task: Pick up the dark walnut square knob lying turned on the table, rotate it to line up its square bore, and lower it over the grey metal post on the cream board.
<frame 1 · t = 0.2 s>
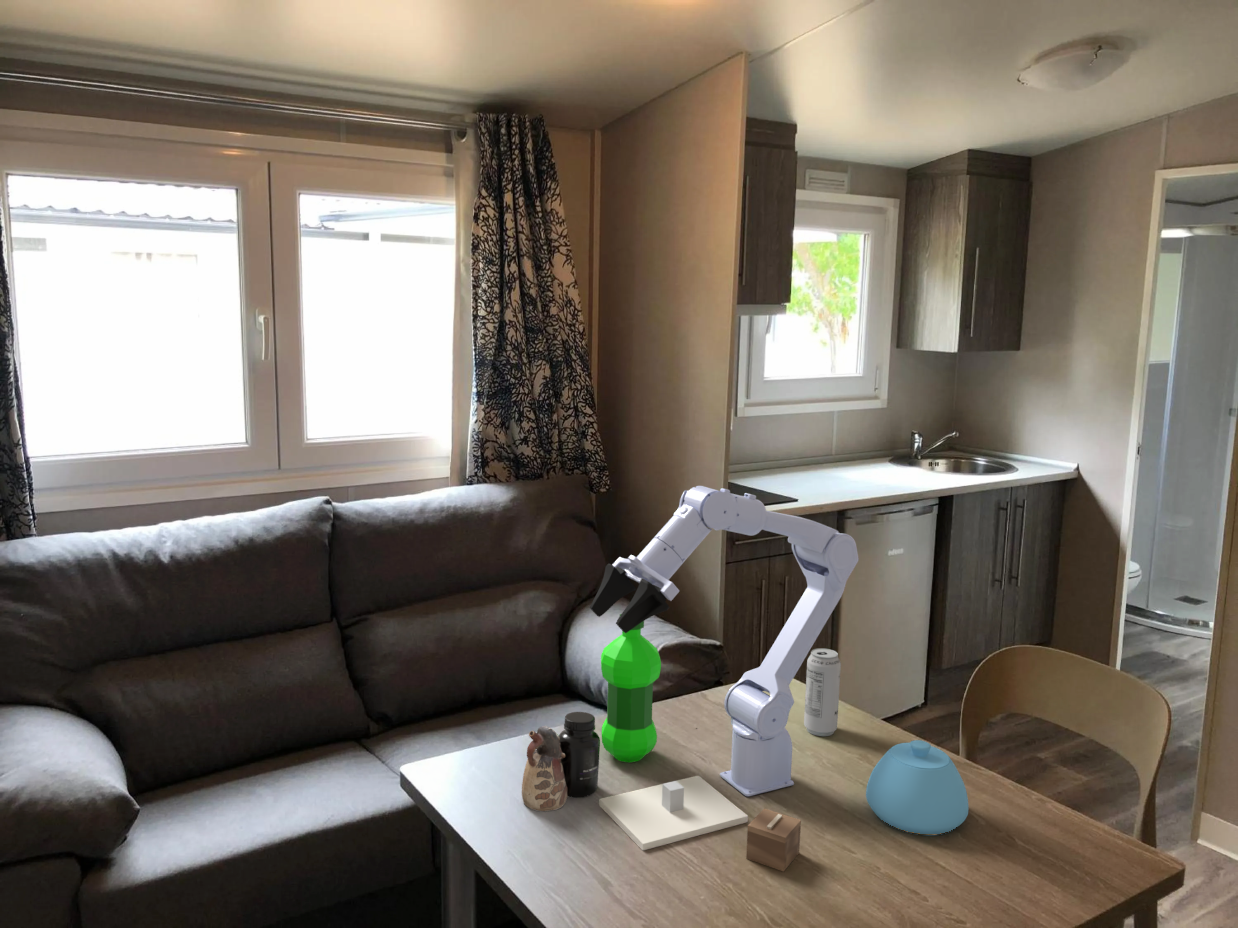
hand: (607, 620, 135), 31 cm above the table, tool tilted 45°, fingers open, 7 cm apart
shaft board: (672, 813, 143), on the table
supplement bottle: (576, 789, 149), on the table, touching figurine
plastic bottle: (628, 756, 162), on the table
figurine: (545, 800, 146), on the table, touching supplement bottle
sugar bowl: (915, 815, 144), on the table
energy drink can: (820, 731, 173), on the table
walnut knob: (772, 855, 132), on the table
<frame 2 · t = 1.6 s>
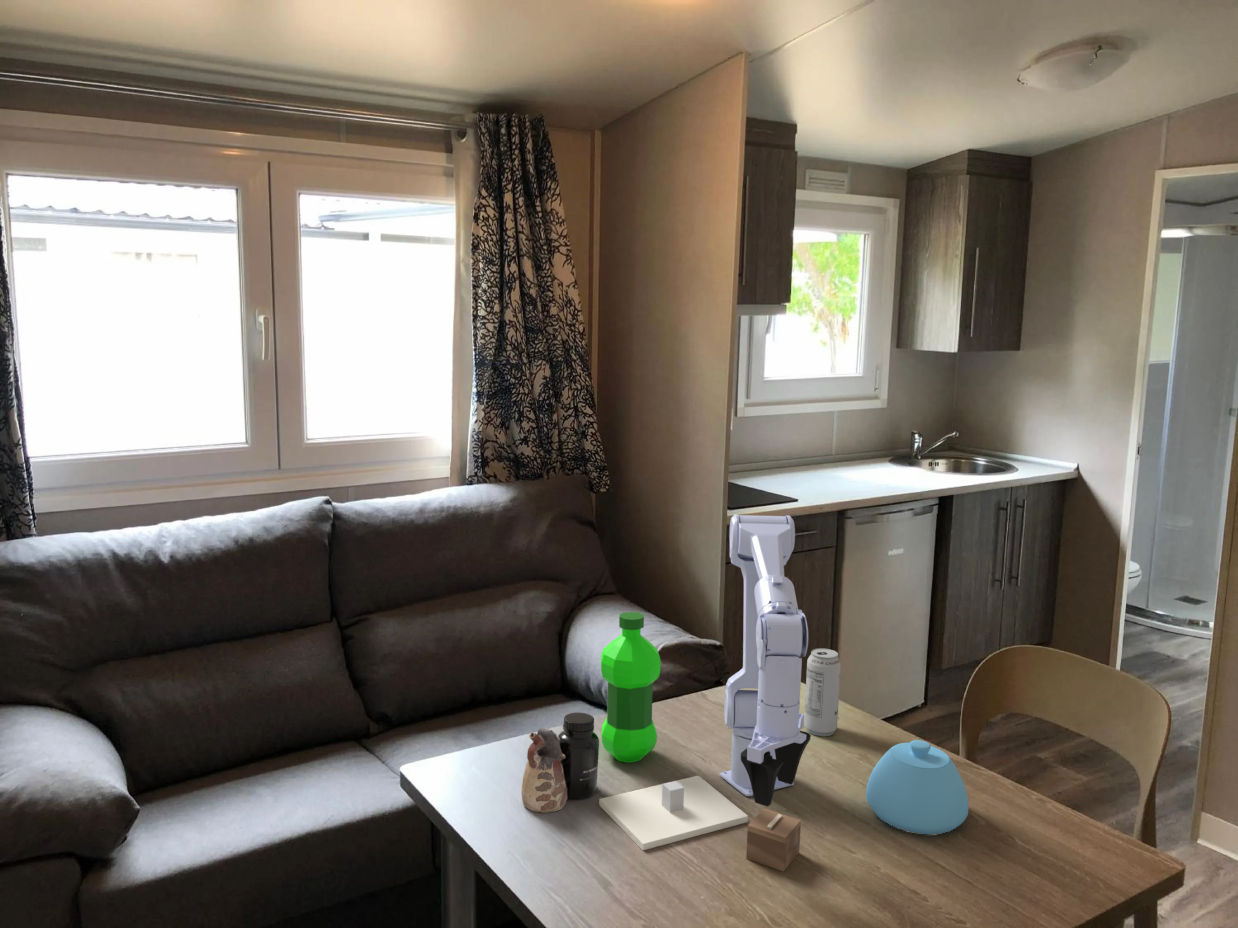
hand: (774, 792, 130), 10 cm above the table, tool pointing down, fingers open, 7 cm apart
nothing on the table moved.
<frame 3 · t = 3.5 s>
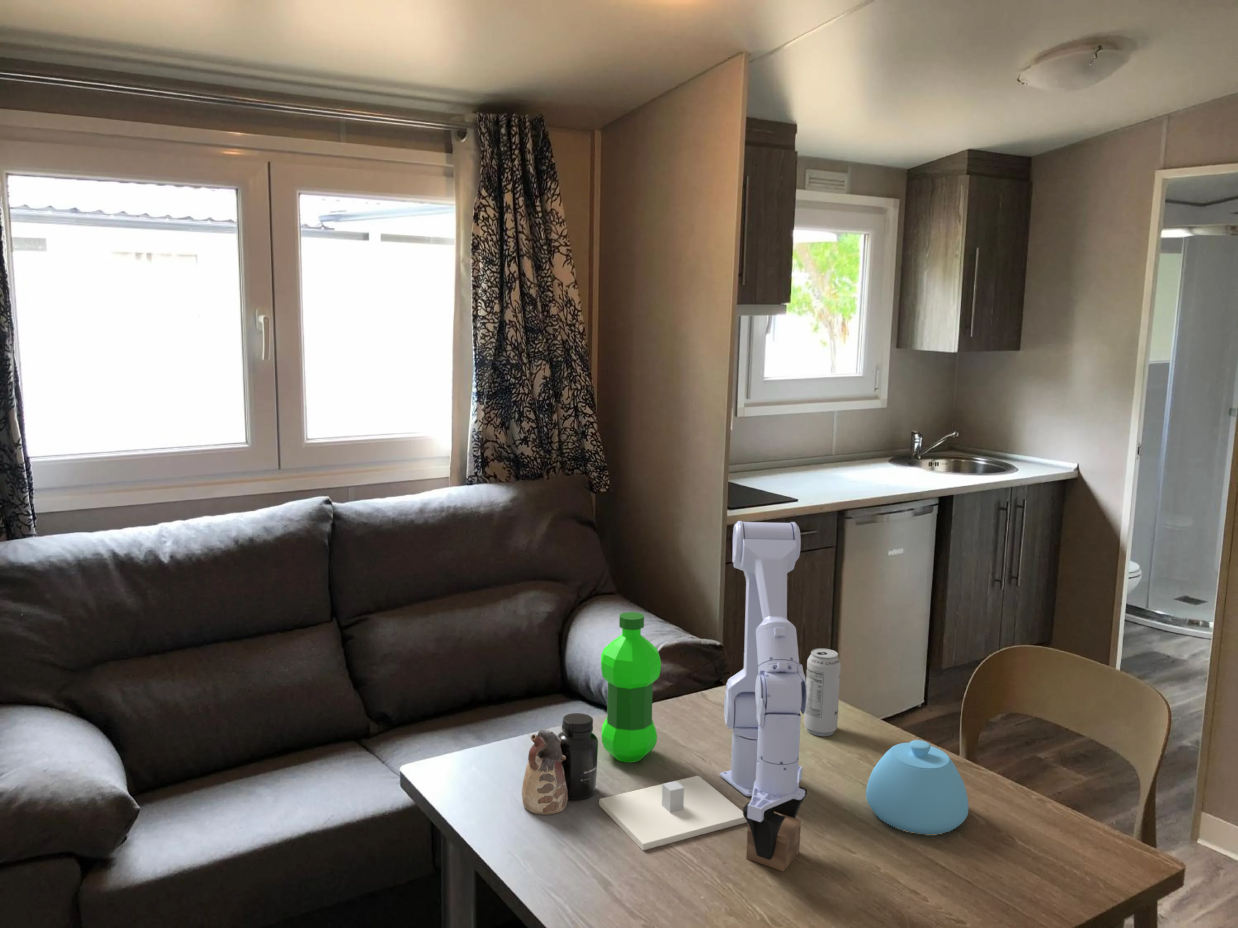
hand: (773, 846, 132), 1 cm above the table, tool pointing down, fingers closed on walnut knob, 6 cm apart
walnut knob: (772, 855, 132), on the table, touching gripper
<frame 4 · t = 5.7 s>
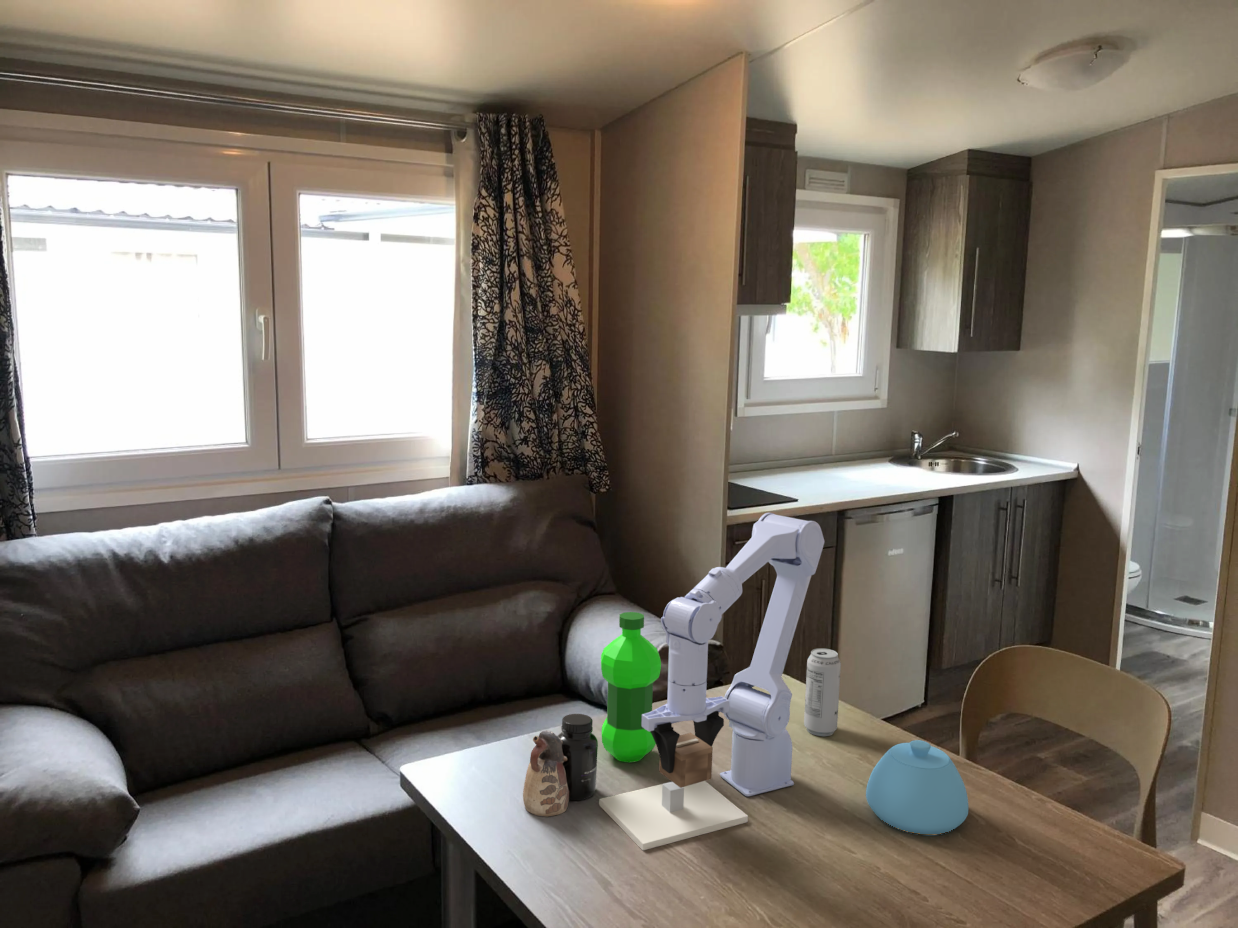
hand: (684, 765, 140), 8 cm above the table, tool pointing down, fingers closed on walnut knob, 6 cm apart
figurine: (546, 805, 144), on the table, touching supplement bottle
walnut knob: (685, 775, 140), point 7 cm above the table, touching gripper
everything else where it was.
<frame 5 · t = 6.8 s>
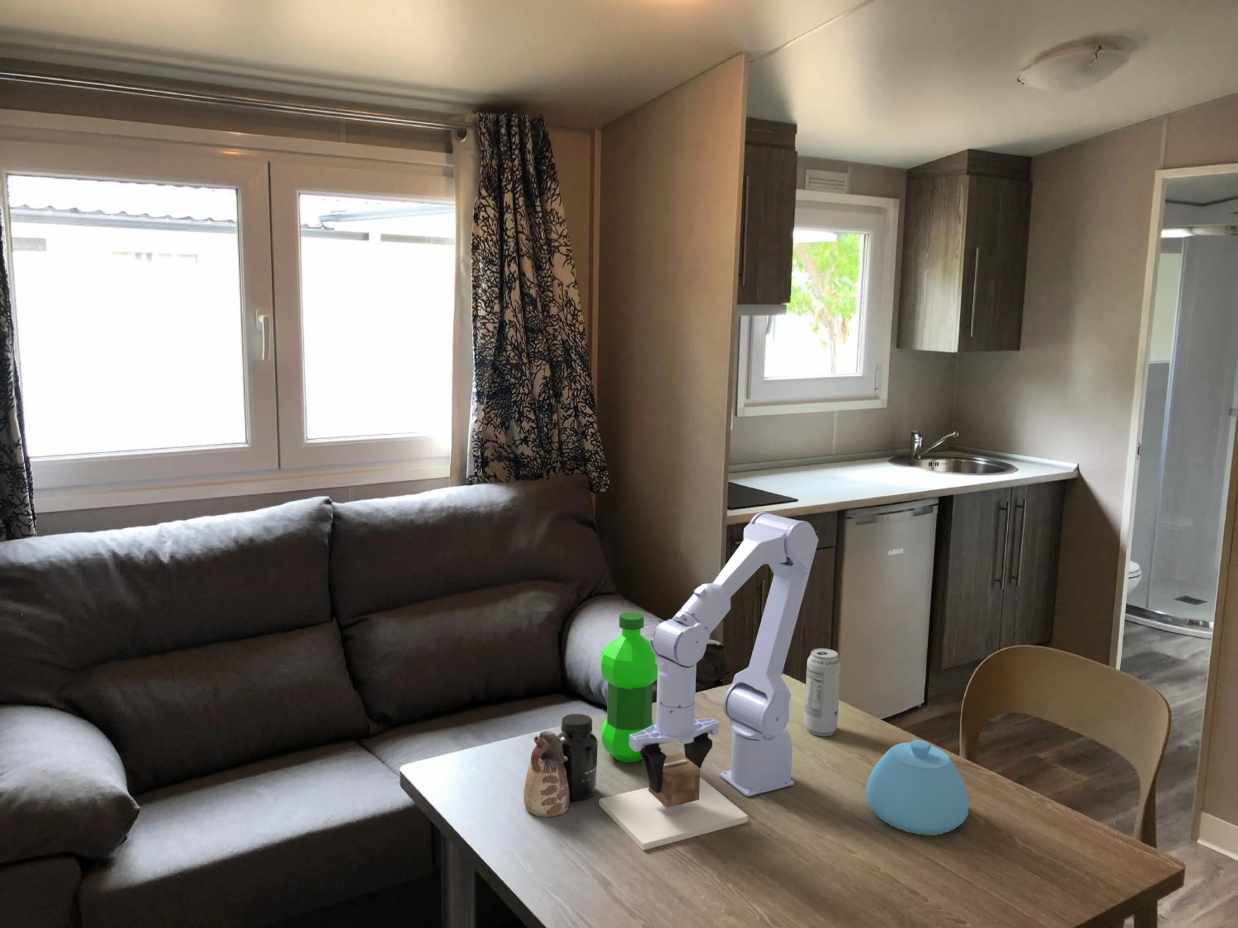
hand: (673, 785, 142), 4 cm above the table, tool pointing down, fingers closed on walnut knob, 6 cm apart
walnut knob: (673, 795, 142), point 3 cm above the table, touching gripper
everything else where it was.
when the fingers open (4 cm above the table, at t = 8.0 s): walnut knob drops 1 cm, resting on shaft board.
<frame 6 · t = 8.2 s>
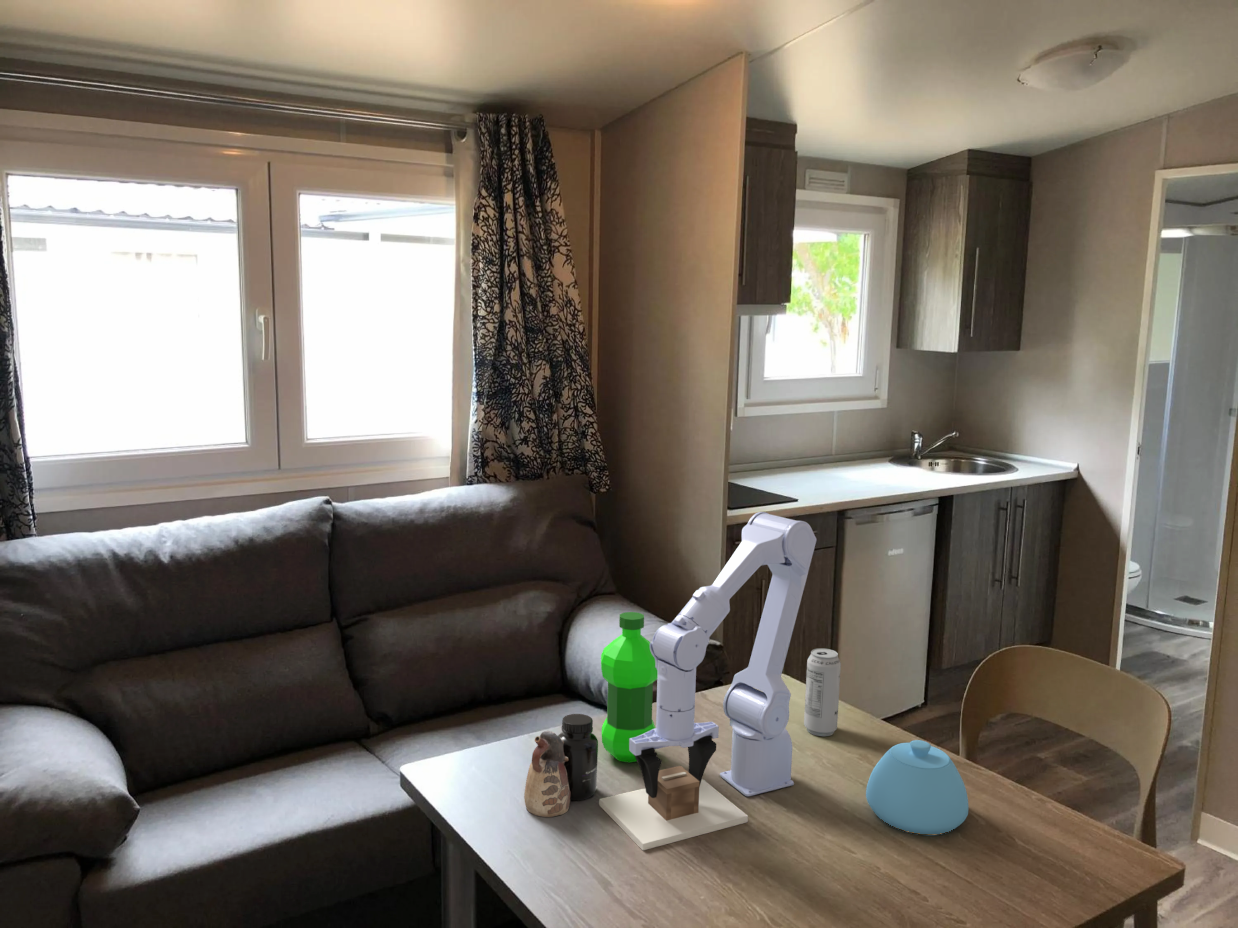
hand: (673, 789, 142), 4 cm above the table, tool pointing down, fingers open, 7 cm apart
walnut knob: (673, 807, 142), point 1 cm above the table, touching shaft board
everything else where it was.
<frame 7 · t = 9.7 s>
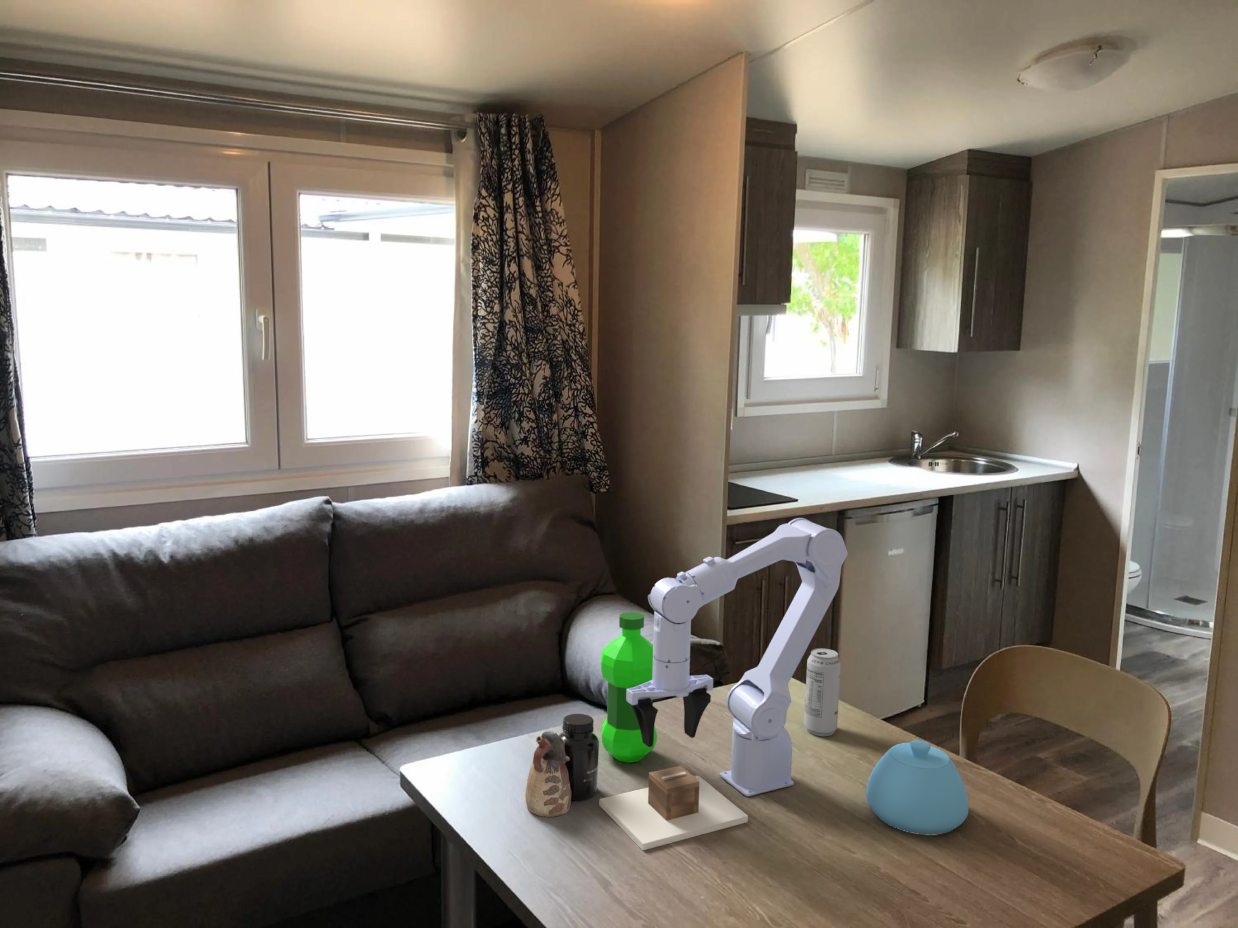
hand: (668, 739, 147), 9 cm above the table, tool pointing down, fingers open, 7 cm apart
figurine: (548, 806, 144), on the table, touching supplement bottle
everything else where it was.
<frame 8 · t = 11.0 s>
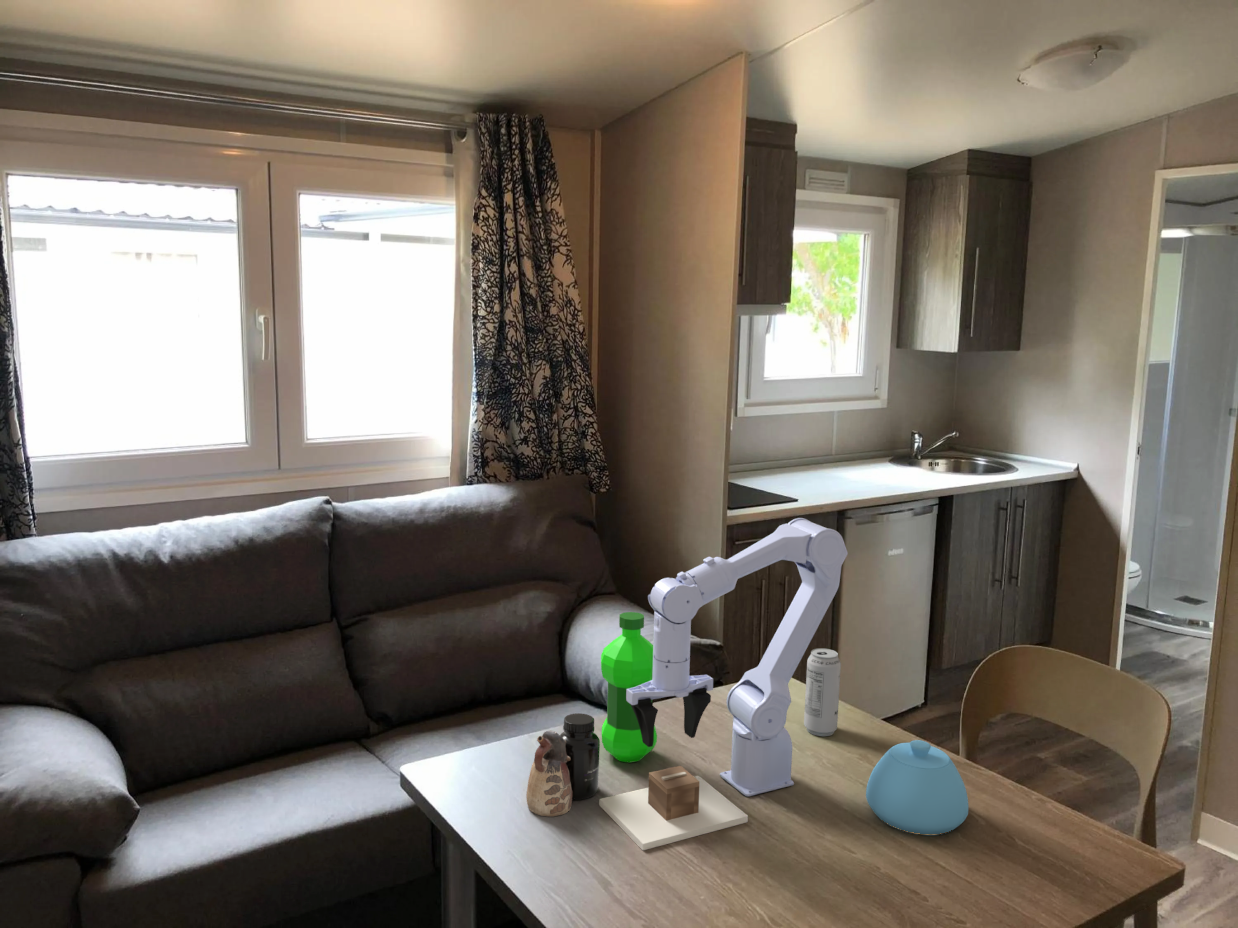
hand: (668, 739, 147), 9 cm above the table, tool pointing down, fingers open, 7 cm apart
figurine: (549, 806, 144), on the table, touching supplement bottle
everything else where it was.
at the end: walnut knob 0.2 cm off-centre on the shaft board, point 1.0 cm above the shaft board's base; walnut knob tilted 0°; the gripper is holding nothing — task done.
